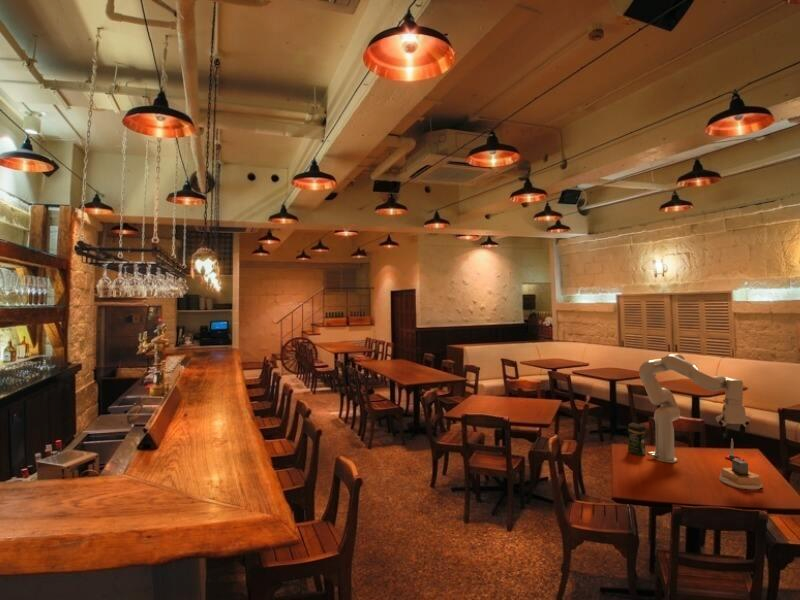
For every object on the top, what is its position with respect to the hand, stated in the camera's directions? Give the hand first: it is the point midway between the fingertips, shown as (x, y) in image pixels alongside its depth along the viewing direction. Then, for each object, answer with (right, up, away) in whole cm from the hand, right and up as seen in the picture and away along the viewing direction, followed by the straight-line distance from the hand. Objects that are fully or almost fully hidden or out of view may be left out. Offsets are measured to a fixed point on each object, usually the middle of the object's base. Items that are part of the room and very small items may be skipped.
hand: (732, 433), depth 245 cm
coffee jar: (-31, -25, +39) cm, 56 cm away
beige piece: (-1, -24, -6) cm, 25 cm away
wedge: (-1, -23, -6) cm, 24 cm away
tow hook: (+22, -24, +28) cm, 43 cm away
